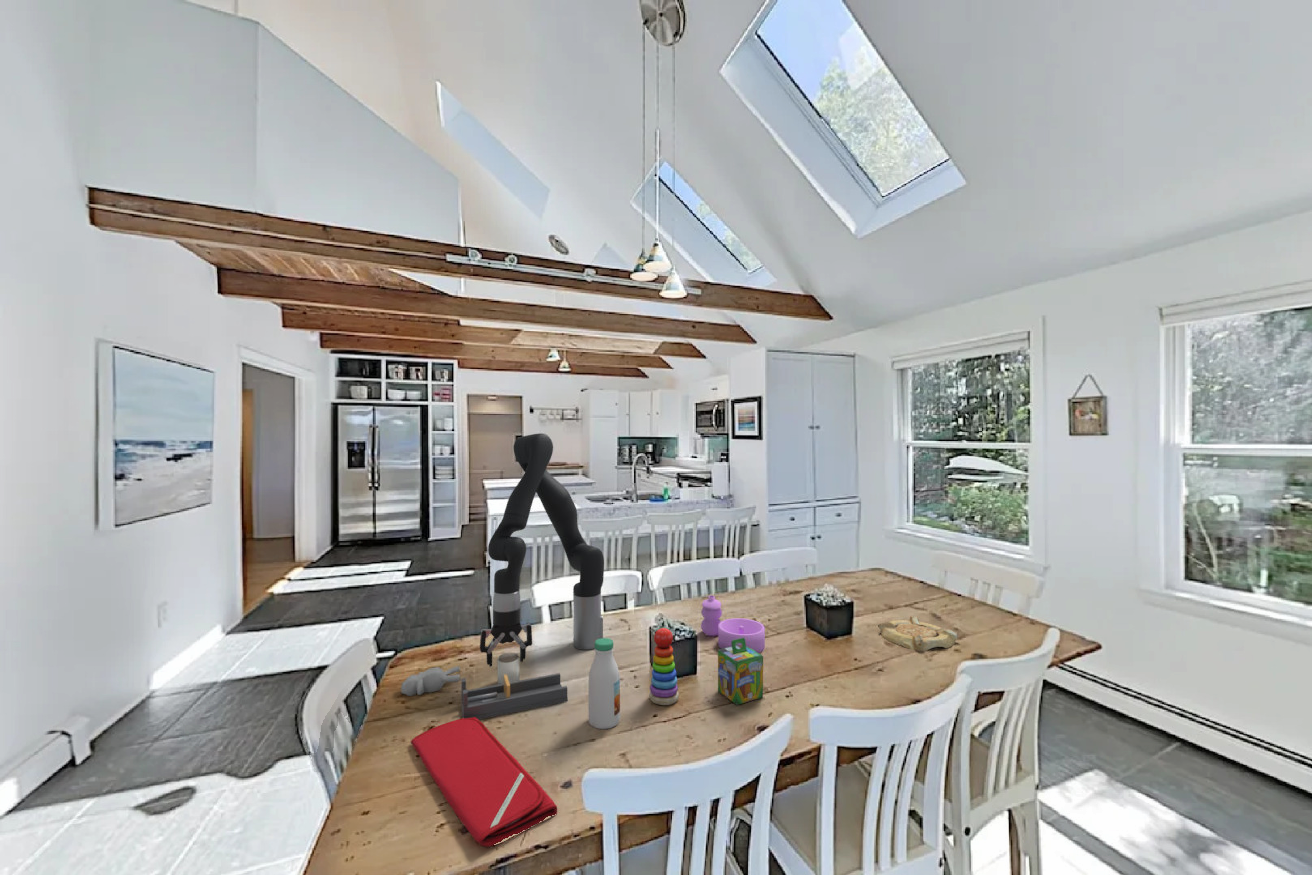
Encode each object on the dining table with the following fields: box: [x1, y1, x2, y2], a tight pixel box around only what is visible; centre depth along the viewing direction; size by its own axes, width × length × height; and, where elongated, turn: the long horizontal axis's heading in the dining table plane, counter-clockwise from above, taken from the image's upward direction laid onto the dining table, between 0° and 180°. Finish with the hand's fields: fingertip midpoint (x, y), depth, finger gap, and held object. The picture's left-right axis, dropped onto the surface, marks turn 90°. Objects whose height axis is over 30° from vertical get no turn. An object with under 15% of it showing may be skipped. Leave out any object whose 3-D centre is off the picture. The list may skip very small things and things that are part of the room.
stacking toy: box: [648, 627, 680, 706], centre depth 141 cm, size 8×8×19 cm
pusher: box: [468, 675, 510, 703], centre depth 136 cm, size 11×7×5 cm, turn 113°
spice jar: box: [496, 652, 520, 685], centre depth 150 cm, size 6×6×8 cm
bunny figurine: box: [400, 666, 461, 697], centre depth 147 cm, size 10×5×15 cm
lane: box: [460, 672, 568, 721], centre depth 139 cm, size 26×10×7 cm, turn 113°
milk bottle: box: [588, 637, 621, 730], centre depth 130 cm, size 8×8×20 cm
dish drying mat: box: [410, 717, 558, 848], centre depth 110 cm, size 16×41×4 cm, turn 40°
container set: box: [700, 595, 766, 654], centre depth 180 cm, size 25×15×13 cm, turn 40°
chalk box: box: [717, 638, 764, 706], centre depth 143 cm, size 9×9×15 cm
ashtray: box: [877, 615, 958, 652], centre depth 182 cm, size 24×24×5 cm
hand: (506, 663), depth 150 cm, fingers open, 8 cm apart
